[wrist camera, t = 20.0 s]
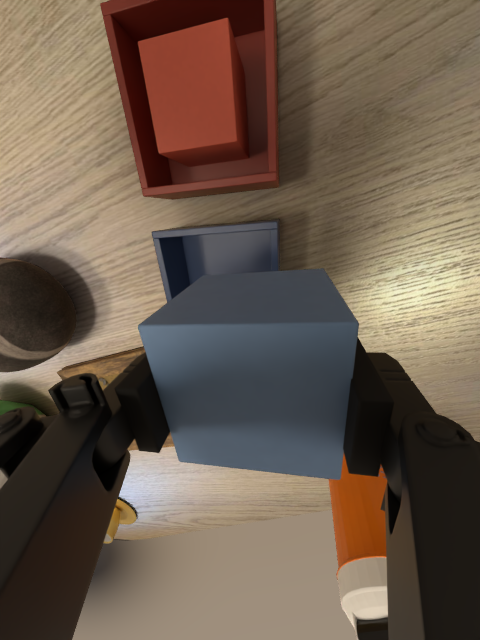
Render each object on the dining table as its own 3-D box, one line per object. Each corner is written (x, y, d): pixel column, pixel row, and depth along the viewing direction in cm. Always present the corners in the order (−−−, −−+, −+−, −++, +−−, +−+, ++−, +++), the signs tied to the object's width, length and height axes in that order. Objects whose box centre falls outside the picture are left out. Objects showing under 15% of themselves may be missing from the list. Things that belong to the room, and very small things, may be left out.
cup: (121, 492, 53) (105, 520, 48) (145, 523, 57) (132, 551, 52) (82, 492, 56) (63, 518, 52) (107, 521, 61) (92, 548, 56)
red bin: (145, 54, 20) (99, 2, 15) (276, 21, 18) (272, -52, 13) (172, 199, 25) (143, 196, 20) (279, 187, 23) (276, 180, 18)
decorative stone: (57, 231, 29) (-46, 240, 20) (116, 332, 34) (55, 376, 25) (-35, 275, 34) (-148, 297, 25) (27, 356, 39) (-49, 398, 30)
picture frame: (186, 335, 32) (64, 366, 39) (181, 341, 30) (55, 373, 37) (234, 432, 38) (122, 444, 45) (232, 442, 36) (116, 452, 43)
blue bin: (177, 227, 26) (151, 231, 21) (279, 218, 24) (277, 221, 19) (193, 319, 30) (175, 340, 25) (280, 319, 28) (279, 342, 23)
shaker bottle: (353, 459, 36) (420, 705, 18) (304, 431, 35) (322, 658, 17) (398, 426, 32) (542, 703, 14) (343, 395, 31) (419, 640, 13)
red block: (176, 85, 20) (136, 41, 15) (244, 71, 19) (228, 16, 14) (188, 167, 23) (158, 153, 17) (249, 158, 21) (237, 141, 16)
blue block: (202, 275, 12) (136, 325, 7) (323, 267, 11) (360, 322, 6) (218, 370, 15) (178, 462, 9) (319, 372, 13) (341, 481, 8)
